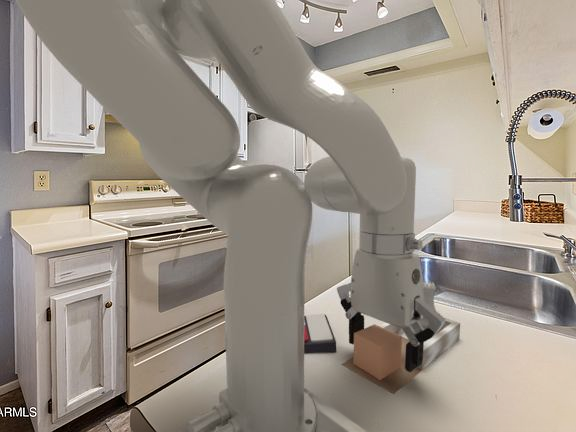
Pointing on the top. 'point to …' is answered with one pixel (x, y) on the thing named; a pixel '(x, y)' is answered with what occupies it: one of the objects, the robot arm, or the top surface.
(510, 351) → the top surface
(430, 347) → the metal sorting tray
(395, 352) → the block
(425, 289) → the rook chess piece
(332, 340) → the calculator
